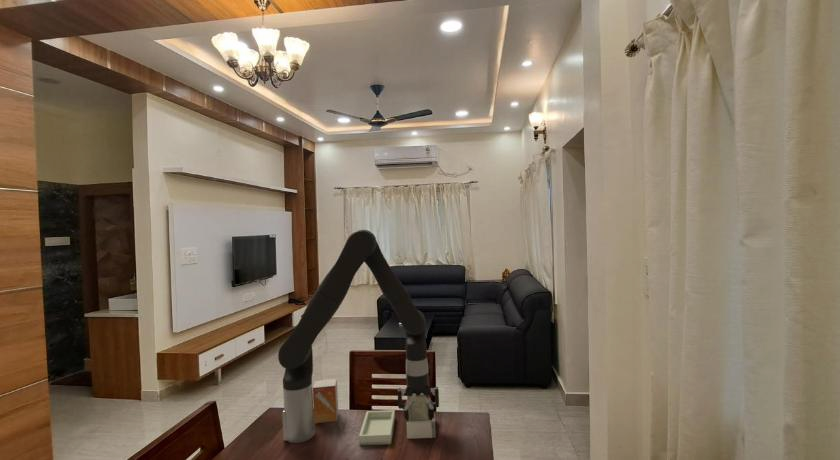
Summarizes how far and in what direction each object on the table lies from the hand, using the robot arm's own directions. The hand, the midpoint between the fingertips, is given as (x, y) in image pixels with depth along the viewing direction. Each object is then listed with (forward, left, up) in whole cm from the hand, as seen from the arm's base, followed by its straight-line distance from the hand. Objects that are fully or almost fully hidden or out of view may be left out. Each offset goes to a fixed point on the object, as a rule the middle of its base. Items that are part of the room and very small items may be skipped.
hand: (419, 419), depth 130 cm
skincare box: (0, 0, -4) cm, 4 cm away
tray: (-14, 0, -3) cm, 14 cm away
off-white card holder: (0, 0, -3) cm, 3 cm away
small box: (-34, +10, -4) cm, 36 cm away
